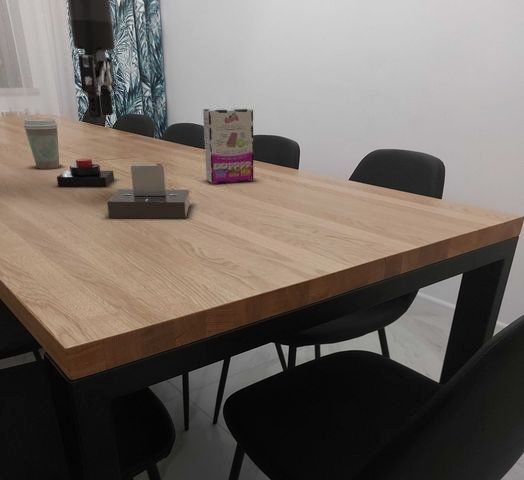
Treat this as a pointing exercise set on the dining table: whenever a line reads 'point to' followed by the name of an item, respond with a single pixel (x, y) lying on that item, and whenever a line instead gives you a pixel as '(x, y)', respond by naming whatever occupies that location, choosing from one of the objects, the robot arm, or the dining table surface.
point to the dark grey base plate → (149, 205)
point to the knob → (148, 179)
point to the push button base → (85, 177)
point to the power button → (84, 162)
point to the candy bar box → (228, 144)
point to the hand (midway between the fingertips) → (102, 116)
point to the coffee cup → (43, 142)
